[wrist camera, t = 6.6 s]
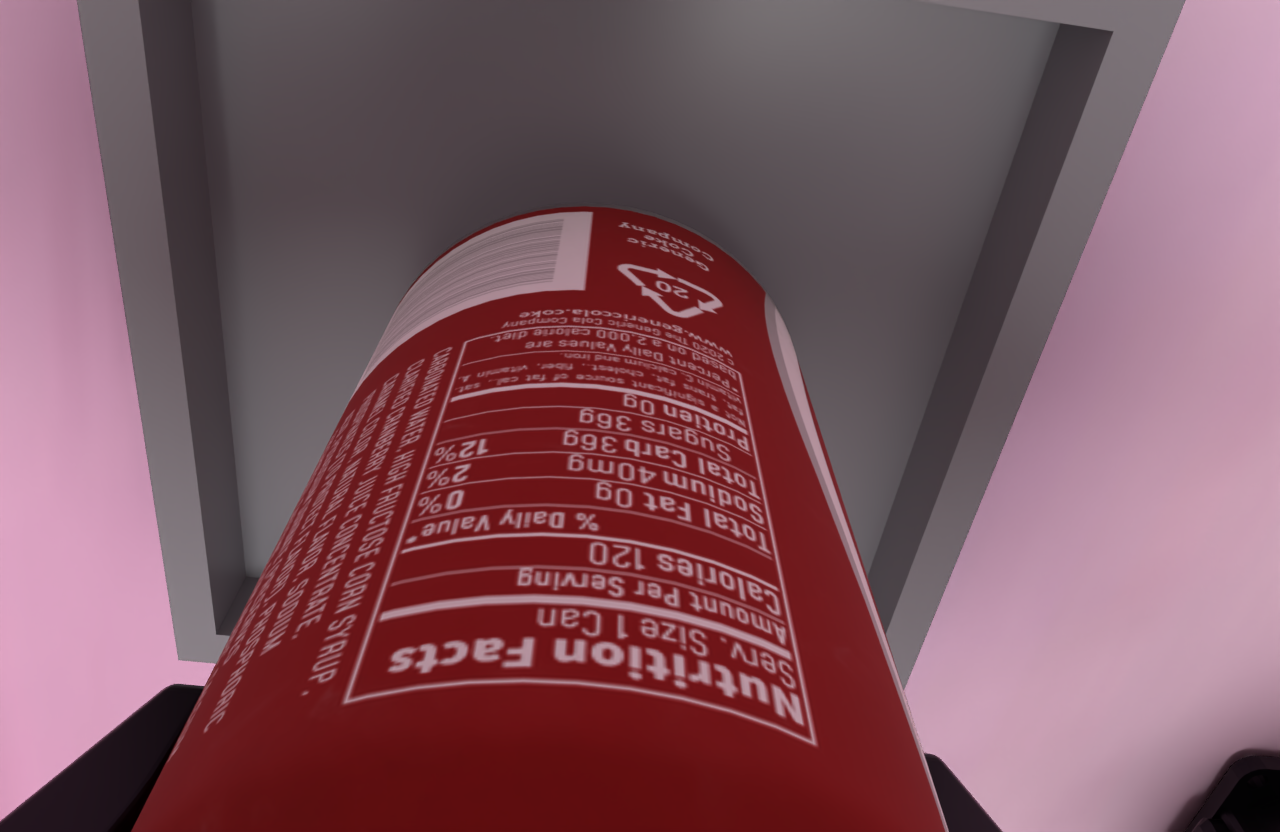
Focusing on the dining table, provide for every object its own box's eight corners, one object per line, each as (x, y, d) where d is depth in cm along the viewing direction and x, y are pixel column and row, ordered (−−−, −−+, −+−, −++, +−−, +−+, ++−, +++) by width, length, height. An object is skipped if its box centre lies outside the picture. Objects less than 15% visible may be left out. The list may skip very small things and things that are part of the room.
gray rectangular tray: (1113, -45, 15) (1195, -24, 13) (864, 639, 22) (889, 724, 20) (136, -204, 13) (44, -210, 11) (224, 576, 21) (178, 659, 19)
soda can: (318, 255, 15) (-392, 1188, 5) (740, 131, 14) (1049, 951, 4) (477, 574, 18) (277, 1527, 8) (826, 492, 17) (1114, 1452, 7)
